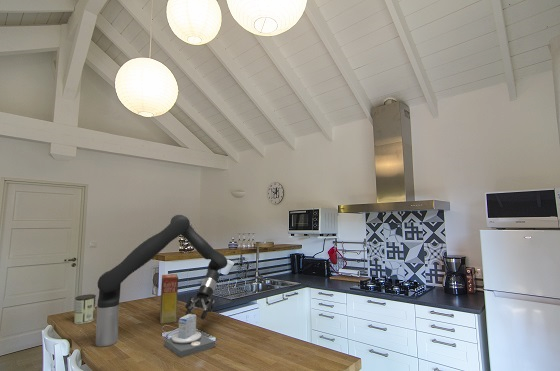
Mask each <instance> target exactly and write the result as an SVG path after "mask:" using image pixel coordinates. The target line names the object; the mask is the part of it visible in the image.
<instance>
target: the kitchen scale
mask: <svg viewBox="0 0 560 371" xmlns="http://www.w3.org/2000/svg"><path fill="white" fill-rule="evenodd" d="M178 334H179V332H177V333H176V334H173V335H172V337H170V338H166V339H164V342H163V346H164V347H166V348H167V349H169V350H170V351H171V352H173V353H174V354H175V355H176V356H177V357H179V358H184V357H187V356H190V355H194V354H197V353H201V352H203V351H206V350H210V349H213V348H215V346H216V345H215V341H214V340H212V339H211V338H209V337H208V336H205V335H203V334H202V333H201V332H200V331H197V330H196V333H195V334H193V335H192V336H190V337H188V338H187V339H182V338H178Z"/></svg>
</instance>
